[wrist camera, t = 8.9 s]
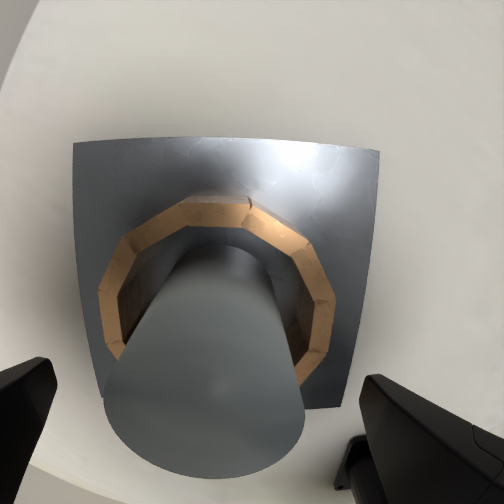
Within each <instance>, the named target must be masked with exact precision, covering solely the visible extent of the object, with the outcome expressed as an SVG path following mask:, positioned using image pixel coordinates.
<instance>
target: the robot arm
mask: <svg viewBox="0 0 504 504" xmlns="http://www.w3.org/2000/svg"><path fill="white" fill-rule="evenodd" d="M56 390H57V379H56V376H55V372H54V369H53V366H52V363H51V361H50V360H49V359H48V358H43V357H35V358H33V359H31V360H28V361H26V362H23V363H21V364H18V365H16V366H13V367H11V368H8V369H6V370H3V371H1V372H0V504H14V501H15V498H16V495H17V492H18V490H19V487H20V484H21V482H22V479H23V476H24V474H25V471H26V468H27V466H28V464H29V461H30V459H31V456H32V454H33V452H34V449H35V447H36V444H37V442H38V440H39V438H40V435H41V433H42V431H43V428H44V425H45V423H46V420H47V417H48V414H49V410H50V408H51V405H52V402H53V399H54V396H55V393H56ZM359 405H360V410H361V414H362V418H363V422H364V427H365V431H366V435H367V436H363V437H357V438H354V439H353V440H351V442H350V443H349V446H348V449H347V452H346V454H345V457H344V460H343V462H342V465H341V467H340V470H339V472H338V475H337V477H336V480H335V482H334V485H333V486H334V489H335V490H337V491H338V490H345V489H351V490H352V493H353V496H354V499H355V503H356V504H504V439H503V438H501V437H498V436H496V435H494V434H492V433H490V432H487V431H485V430H483V429H481V428H479V427H478V426H476V425H472V424H471V423H470V422H468V421H466V420H464V419H462V418H460V417H458V416H456V415H454V414H453V413H451V412H449V411H447V410H445V409H443V408H441V407H439V406H438V405H436V404H434V403H432V402H430V401H428V400H426V399H425V398H423V397H421V396H419V395H417V394H415V393H414V392H412V391H410V390H408V389H406V388H405V387H403V386H401V385H399V384H397V383H396V382H394V381H392V380H390V379H389V378H387V377H385V376H383V375H381V374H373V375H368V376H366V378H365V380H364V383H363V387H362V390H361V394H360V398H359Z"/></svg>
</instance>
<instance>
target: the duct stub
mask: <svg viewBox="0 0 504 504" xmlns="http://www.w3.org/2000/svg"><path fill="white" fill-rule="evenodd" d="M103 398H104V408H105V413H106V415H107V418H108V421H109V423H110V424H111V426H112V428H113V430H114V431H115V433H116V434H117V435H118V437H119V438H120V439H121V440H122V441H123V442H124V443H125V445H126V446H128V447H129V448H130V449H131V450H132V451H133V452H135V453H136V454H137V455H139V456H140V457H142V458H143V459H145V460H146V461H148V462H150V463H152V464H154V465H156V466H158V467H160V468H162V469H165V470H168V471H170V472H173V473H177V474H180V475H184V476H189V477H195V478H204V479H226V478H234V477H240V476H245V475H249V474H252V473H255V472H258V471H260V470H263V469H265V468H267V467H269V466H271V465H273V464H274V463H276V462H278V461H279V460H280V459H282V458H283V457H284V456H285V455H286V454H287V453H288V452H289V451H290V450H291V449H292V448H293V447H294V446H295V444H296V443H297V441H298V439H299V438H300V436H301V433H302V430H303V427H304V421H305V410H304V405H303V401H302V397H301V393H300V389H299V385H298V381H297V377H296V373H295V369H294V365H293V362H292V358H291V354H290V350H289V346H288V342H287V338H286V335H285V331H284V327H283V323H282V319H281V315H280V312H279V308H278V304H277V300H276V296H275V293H274V289H273V285H272V282H271V279H270V277H269V274H268V273H267V271H266V269H265V268H264V267H263V265H262V264H261V263H260V262H259V261H258V260H257V259H256V258H255V257H253V256H252V255H250V254H249V253H247V252H245V251H244V250H241V249H239V248H236V247H232V246H228V245H208V246H203V247H200V248H197V249H195V250H193V251H191V252H189V253H187V254H186V255H184V256H183V257H182V258H181V259H180V260H179V261H178V262H177V263H176V264H175V266H174V267H173V269H172V270H171V272H170V273H169V275H168V276H167V278H166V280H165V281H164V283H163V284H162V286H161V288H160V289H159V291H158V293H157V294H156V296H155V297H154V299H153V301H152V302H151V304H150V306H149V307H148V309H147V311H146V312H145V314H144V316H143V317H142V319H141V321H140V322H139V324H138V326H137V327H136V329H135V331H134V333H133V334H132V336H131V338H130V339H129V341H128V343H127V345H126V346H125V348H124V350H123V352H122V353H121V355H120V357H119V359H118V360H117V362H116V364H115V366H114V367H113V369H112V371H111V373H110V375H109V376H108V379H107V381H106V384H105V388H104V394H103Z"/></svg>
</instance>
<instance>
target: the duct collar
mask: <svg viewBox="0 0 504 504" xmlns="http://www.w3.org/2000/svg"><path fill="white" fill-rule="evenodd" d="M379 155H380V151H376V150H369V149H362V148H355V147H347V146H339V145H330V144H320V143H310V142H298V141H286V140H271V139H253V138H225V137H161V138H134V139H116V140H102V141H90V142H79V143H73V217H74V235H75V249H76V260H77V270H78V278H79V287H80V294H81V301H82V308H83V314H84V320H85V326H86V331H87V337H88V342H89V347H90V352H91V357H92V361H93V366H94V370H95V374H96V378H97V382H98V386H99V390H100V394H101V397H102V398H103V394H104V388H105V384H106V381H107V379H108V376H109V375H110V373H111V371H112V369H113V367H114V366H115V364H116V362H117V360H118V359H119V357H120V355H121V353H122V352H123V350H124V348H125V346H126V345H127V343H128V341H129V339H130V338H131V336H132V334H133V333H134V331H135V329H136V327H137V326H138V324H139V322H140V321H141V319H142V317H143V316H144V314H145V312H146V311H147V309H148V307H149V306H150V304H151V302H152V301H153V299H154V297H155V296H156V294H157V293H158V291H159V289H160V288H161V286H162V284H163V283H164V281H165V280H166V278H167V276H168V275H169V273H170V272H171V270H172V269H173V267H174V266H175V264H176V263H177V262H178V261H179V260H180V259H181V258H182V257H183V256H184V255H186V254H187V253H189V252H191V251H193V250H195V249H197V248H200V247H203V246H208V245H228V246H232V247H236V248H239V249H241V250H244V251H245V252H247V253H249V254H250V255H252V256H253V257H255V258H256V259H257V260H258V261H259V262H260V263H261V264H262V265H263V267H264V268H265V269H266V271H267V273H268V274H269V277H270V279H271V282H272V285H273V289H274V293H275V296H276V300H277V304H278V308H279V312H280V315H281V319H282V323H283V327H284V331H285V335H286V338H287V342H288V346H289V350H290V354H291V358H292V362H293V365H294V369H295V373H296V377H297V381H298V385H299V389H300V393H301V397H302V401H303V405H304V409H320V408H333V407H340V406H341V403H342V399H343V395H344V391H345V387H346V383H347V379H348V375H349V370H350V366H351V362H352V357H353V353H354V348H355V343H356V338H357V333H358V328H359V323H360V318H361V312H362V307H363V301H364V295H365V289H366V283H367V276H368V269H369V262H370V255H371V247H372V239H373V230H374V221H375V211H376V200H377V188H378V173H379Z"/></svg>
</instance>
